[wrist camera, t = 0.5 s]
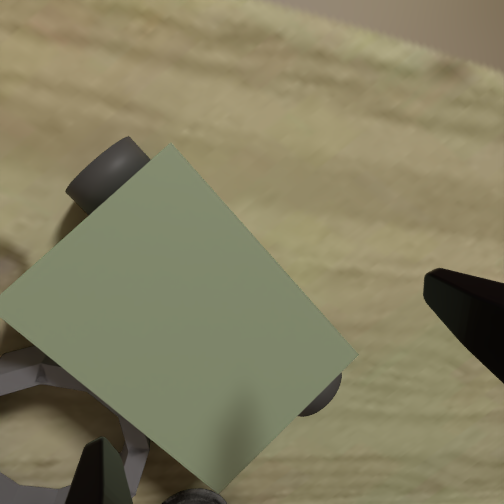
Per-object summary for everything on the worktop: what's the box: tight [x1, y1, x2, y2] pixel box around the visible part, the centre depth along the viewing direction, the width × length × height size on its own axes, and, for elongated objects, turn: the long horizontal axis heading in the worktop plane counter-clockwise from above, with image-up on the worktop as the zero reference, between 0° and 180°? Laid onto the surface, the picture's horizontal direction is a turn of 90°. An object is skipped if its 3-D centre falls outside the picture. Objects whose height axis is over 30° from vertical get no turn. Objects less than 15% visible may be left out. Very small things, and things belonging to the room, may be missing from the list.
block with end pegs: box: [0, 136, 359, 504], centre depth 20 cm, size 17×20×5 cm
